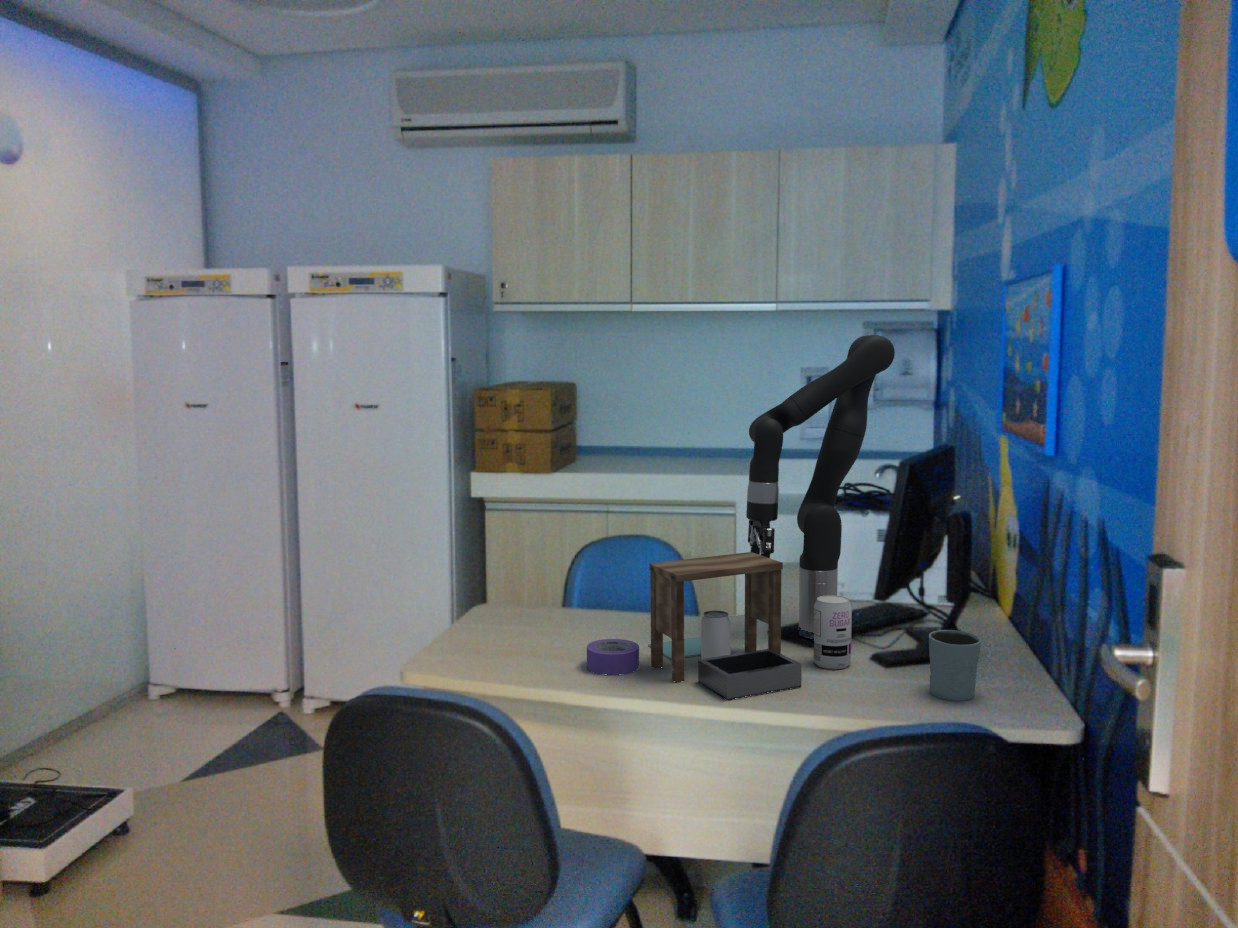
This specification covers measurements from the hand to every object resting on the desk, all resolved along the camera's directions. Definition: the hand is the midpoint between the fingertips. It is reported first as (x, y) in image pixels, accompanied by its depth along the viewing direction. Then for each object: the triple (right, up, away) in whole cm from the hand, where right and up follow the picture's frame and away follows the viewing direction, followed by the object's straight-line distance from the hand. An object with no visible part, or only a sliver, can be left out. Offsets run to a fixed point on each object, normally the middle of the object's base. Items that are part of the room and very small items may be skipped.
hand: (759, 565), depth 238 cm
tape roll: (-36, -21, -19) cm, 45 cm away
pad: (-18, -19, -6) cm, 27 cm away
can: (-13, -21, -19) cm, 31 cm away
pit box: (-7, -22, -31) cm, 39 cm away
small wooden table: (-13, -21, -19) cm, 30 cm away
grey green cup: (+34, -23, -38) cm, 56 cm away
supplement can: (+14, -20, -19) cm, 31 cm away
